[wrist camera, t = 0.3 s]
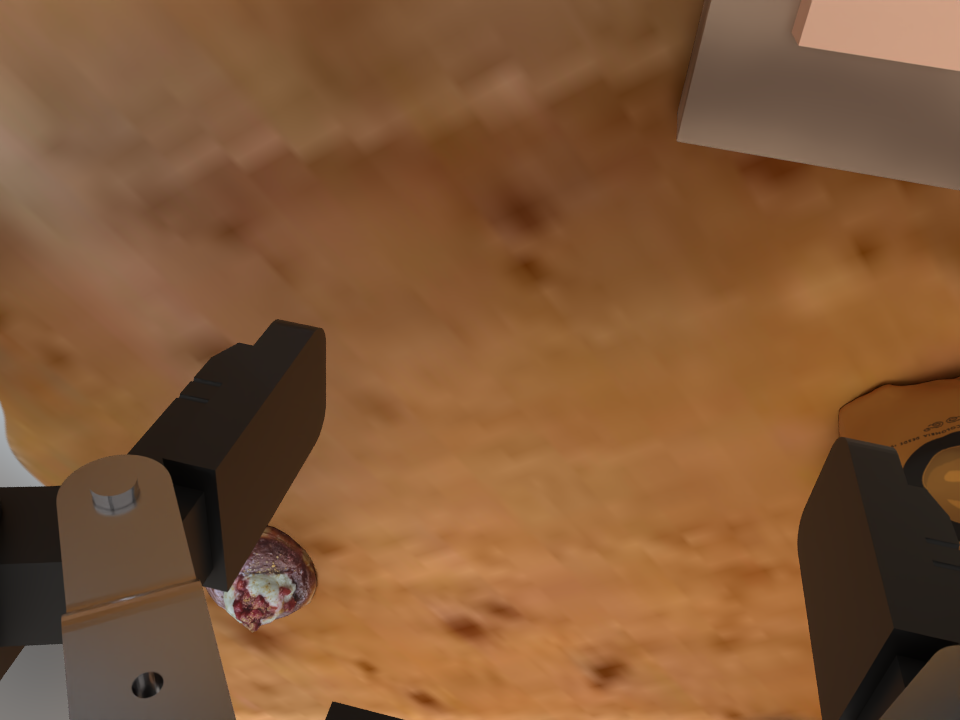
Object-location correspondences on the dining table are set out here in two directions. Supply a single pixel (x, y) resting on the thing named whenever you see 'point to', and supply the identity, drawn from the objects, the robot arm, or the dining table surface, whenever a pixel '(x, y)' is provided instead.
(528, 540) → the dining table surface
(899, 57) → the pink rectangular block
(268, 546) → the pastry
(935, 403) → the coffee package
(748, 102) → the deck
